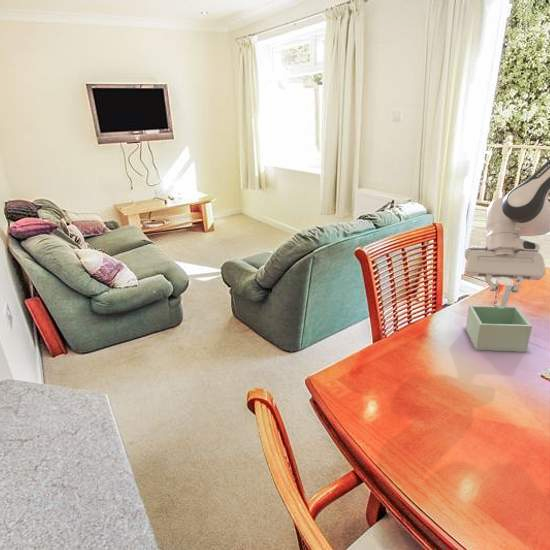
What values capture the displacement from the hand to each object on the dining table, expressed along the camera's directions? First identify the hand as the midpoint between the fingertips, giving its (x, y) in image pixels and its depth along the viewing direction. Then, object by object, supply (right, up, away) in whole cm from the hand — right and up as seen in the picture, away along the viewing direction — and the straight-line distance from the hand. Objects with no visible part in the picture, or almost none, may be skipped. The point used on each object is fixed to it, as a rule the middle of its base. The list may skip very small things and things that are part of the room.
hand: (504, 291), depth 108 cm
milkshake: (+1, -5, +3) cm, 6 cm away
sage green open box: (+2, -15, +7) cm, 17 cm away
